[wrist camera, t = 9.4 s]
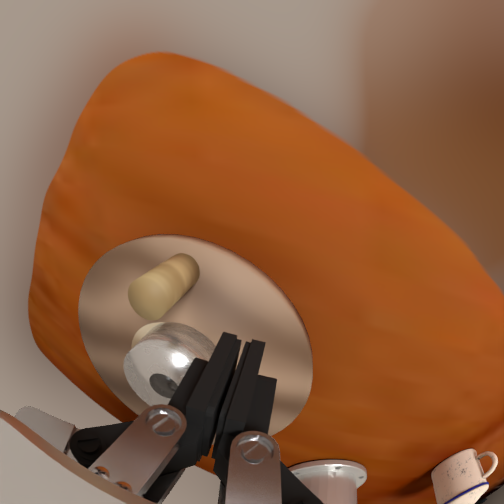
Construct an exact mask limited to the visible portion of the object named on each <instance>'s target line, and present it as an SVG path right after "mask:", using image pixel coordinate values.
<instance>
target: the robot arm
mask: <svg viewBox="0 0 504 504" xmlns="http://www.w3.org/2000/svg"><path fill="white" fill-rule="evenodd" d="M241 342H242V340H239V339H237V335H235V334H231V333H227V332H223V333H222V335H221V337H220V339H219V341H218V343H217V345H216V347H215V349H214V351H213V353H212V355H211V357H210V359H209V361H206V360H203V359H200V358H194V360H193V361H192V363H191V365H190V367H189V368H188V370H187V372H186V374H185V375H184V377H183V379H182V381H181V382H180V384H179V386H178V387H177V389H176V391H175V393H174V394H173V396H172V398H171V400H170V401H169V403H168V405H164V404H158V405H153V406H150V407H148V408H147V409H145V410H144V411H143V412H142V413H141V414H140V415H139V416H138V417H137V419H136V420H135V421H130V422H124V423H119V424H113V425H106V426H100V427H92V428H85V429H78V428H76V427H75V425H73V424H70V423H68V422H66V421H63V420H61V419H58V418H56V417H54V416H52V415H49V414H47V413H45V412H43V411H40V410H39V409H37V408H34V407H31V406H28V407H23V408H21V409H20V410H19V411H18V412H17V413H16V415H15V417H13V416H11V415H10V414H8V413H6V412H4V411H2V410H0V504H162V502H163V501H164V499H165V498H166V497H167V495H168V494H169V493H170V491H171V490H172V488H173V487H174V485H175V484H176V483H177V481H178V480H179V478H180V477H181V475H182V474H183V472H184V471H185V468H187V467H190V466H193V465H195V464H196V462H197V461H200V459H201V456H202V455H203V456H208V454H209V451H210V448H211V445H212V443H213V440H214V437H215V442H214V447H213V453H212V458H214V459H215V464H214V469H213V471H214V472H215V473H216V475H217V476H218V477H219V479H220V480H221V481H220V490H219V498H218V504H357V488H358V487H359V486H361V485H362V484H363V483H364V482H365V480H366V478H367V472H366V469H365V467H364V466H362V465H361V464H359V463H356V462H353V461H347V460H318V461H311V462H306V463H302V464H298V465H295V466H293V467H290V468H287V467H286V466H285V465H284V464H283V463H282V462H281V461H280V450H279V446H278V444H277V442H276V441H275V440H274V439H273V438H272V437H271V436H270V435H268V431H269V426H270V420H271V414H272V409H273V403H274V397H275V391H276V384H277V379H276V378H272V377H267V376H263V375H258V373H259V369H260V365H261V361H262V357H263V352H264V348H265V344H266V342H263V341H258V340H254V339H252V341H251V342H247V341H246V342H245V345H244V348H243V351H242V354H241V356H240V359H239V362H238V365H237V361H238V356H239V351H240V347H241ZM236 366H237V368H236ZM215 435H216V436H215Z"/></svg>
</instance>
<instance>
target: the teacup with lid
mask: <svg viewBox="0 0 504 504" xmlns="http://www.w3.org/2000/svg"><path fill="white" fill-rule="evenodd" d="M486 455H488V456H490V457H491V458H492V460H493V464H492V467H491V468H490V470H489V471H488V472H486V473H485V474H484V472H483V470H482V467H481V464H480V461H479V459H480V458H482V457H484V456H486ZM497 463H498V459H497V456H496V455H495V454H494V453H493V452H489V451H486V452H483V453H481V454H479V455H478V456H477V453H476V451H475V450H474V449H466V450H463V451H460V452H458V453H456V454H454V455H452V456H450V457H449V458H447V459H446V460H444V461H443V462H441V463H440V464H439V465H438V466H437V467H435V469H434V470H433V471H432V473H431V477H432V481H433V486H434V490H435V495H436V500H437V504H474V503H475V502H476V501H477V500H478V499H479V497H480V496H481V495H482V494H483V493H484V492H485V491H486V490H487V489H488V486H489V483H488V482H487V481H486V477H487V476H489V475H490V474H491V473H492V472H493V471H494V470H495V468H496V466H497Z"/></svg>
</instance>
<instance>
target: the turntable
mask: <svg viewBox="0 0 504 504" xmlns="http://www.w3.org/2000/svg"><path fill="white" fill-rule="evenodd" d="M78 314H79V325H80V330H81V335H82V339H83V342H84V345H85V348H86V350H87V353H88V355H89V357H90V359H91V361H92V363H93V365H94V367H95V369H96V370H97V372H98V373H99V375H100V376H101V378H102V379H103V381H104V382H105V383H106V385H107V386H108V387H109V388H110V390H111V391H112V392H113V393H114V394H115V395H116V396H117V397H118V398H119V399H120V400H121V401H122V402H123V403H124V404H125V405H126V406H127V407H129V408H130V409H131V410H132V411H134V412H135V413H136V414H138V415H140V414H141V413H142V412H143V411H144V410H145V409H147V408H148V407H150V405H148V404H147V403H146V402H144V401H143V400H142V399H141V398H140V397H139V396H138V395H137V394H136V393H135V391H134V390H133V389H132V387H131V386H130V384H129V383H128V381H127V379H126V376H125V373H124V367H123V366H124V359H125V356H126V355H127V353H128V352H129V351H130V350H131V349H132V348H133V347H134V346H135V345H136V344H137V343H138V342H139V341H140V340H141V339H142V338H143V337H144V336H145V335H146V334H147V333H148V332H149V331H150V330H151V329H152V328H153V327H154V326H156V325H158V324H161V323H165V322H176V323H181V324H185V325H188V326H190V327H192V328H194V329H196V330H198V331H200V332H201V333H202V334H204V335H205V336H206V337H208V338H209V339H210V340H211V341H212V342H213V344H214V345H215V346H216V345H217V343H218V341H219V339H220V337H221V335H222V333H223V332H227V333H231V334H235V335H237V339H239V340H242V342H241V347H240V351H239V356H238V361H237V365H238V362H239V359H240V356H241V354H242V351H243V348H244V345H245V342H246V341H247V342H251V341H252V339H254V340H258V341H263V342H266V344H265V348H264V352H263V357H262V361H261V365H260V369H259V373H258V375H263V376H267V377H272V378H276V379H277V384H276V391H275V397H274V403H273V409H272V414H271V420H270V426H269V431H268V435H270V436H272V435H274V434H275V433H277V432H279V431H281V430H282V429H284V428H285V427H286V426H287V425H289V424H290V423H291V422H292V421H293V420H294V419H295V418H296V417H297V416H298V414H299V413H300V412H301V410H302V409H303V407H304V405H305V404H306V402H307V399H308V396H309V393H310V391H311V384H312V378H313V362H312V349H311V344H310V339H309V336H308V333H307V330H306V328H305V325H304V323H303V320H302V319H301V317H300V315H299V313H298V312H297V310H296V308H295V306H294V305H293V303H292V302H291V301H290V299H289V298H288V297H287V296H286V294H285V293H284V292H283V290H282V289H281V288H280V287H279V286H278V285H277V284H276V283H275V282H274V281H273V280H272V279H271V278H270V277H269V276H268V275H267V274H265V273H264V272H263V271H261V270H260V269H259V268H258V267H256V266H255V265H254V264H252V263H251V262H250V261H248V260H246V259H245V258H243V257H241V256H240V255H238V254H236V253H235V252H233V251H231V250H229V249H226V248H224V247H222V246H220V245H217V244H215V243H212V242H209V241H206V240H202V239H199V238H196V237H190V236H184V235H178V234H157V235H150V236H144V237H141V238H138V239H135V240H131V241H129V242H126V243H124V244H122V245H119V246H117V247H116V248H114V249H112V250H110V251H108V252H107V253H106V254H104V255H103V256H102V257H101V258H100V259H99V260H98V261H97V262H96V263H95V264H94V265H93V267H92V268H91V269H90V271H89V273H88V274H87V276H86V278H85V280H84V283H83V286H82V289H81V293H80V298H79V312H78ZM236 368H237V366H236ZM215 436H216V435H215ZM214 442H215V437H214V440H213V443H212V444H214Z"/></svg>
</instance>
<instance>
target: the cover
mask: <svg viewBox="0 0 504 504" xmlns="http://www.w3.org/2000/svg"><path fill="white" fill-rule="evenodd" d="M215 347H216V346H215V345H214V344H213V342H212V341H211V340H210V339H209V338H208V337H206V336H205V335H204V334H202V333H201V332H200V331H198V330H196V329H194V328H192V327H190V326H188V325H185V324H181V323H176V322H165V323H161V324H158V325H156V326H154V327H153V328H152V329H151V330H150V331H149V332H148V333H147V334H146V335H145V336H144V337H143V338H142V339H141V340H140V341H139V342H138V343H137V344H136V345H135V346H134V347H133V348H132V349H131V350H130V351H129V352H128V353H127V355H126V356H125V359H124V366H123V367H124V373H125V376H126V379H127V381H128V383H129V384H130V386H131V387H132V389H133V390H134V391H135V393H136V394H137V395H138V396H139V397H140V398H141V399H142V400H143V401H144V402H146V403H147V404H148V405H150V406H153V405H158V404H164V405H168V403H169V401H170V400H171V398H172V396H173V394H174V393H175V391H176V389H177V387H178V386H179V384H180V382H181V381H182V379H183V377H184V375H185V374H186V372H187V370H188V368H189V367H190V365H191V363H192V361H193V360H194V358H200V359H203V360H206V361H209V359H210V357H211V355H212V353H213V351H214V349H215Z"/></svg>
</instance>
